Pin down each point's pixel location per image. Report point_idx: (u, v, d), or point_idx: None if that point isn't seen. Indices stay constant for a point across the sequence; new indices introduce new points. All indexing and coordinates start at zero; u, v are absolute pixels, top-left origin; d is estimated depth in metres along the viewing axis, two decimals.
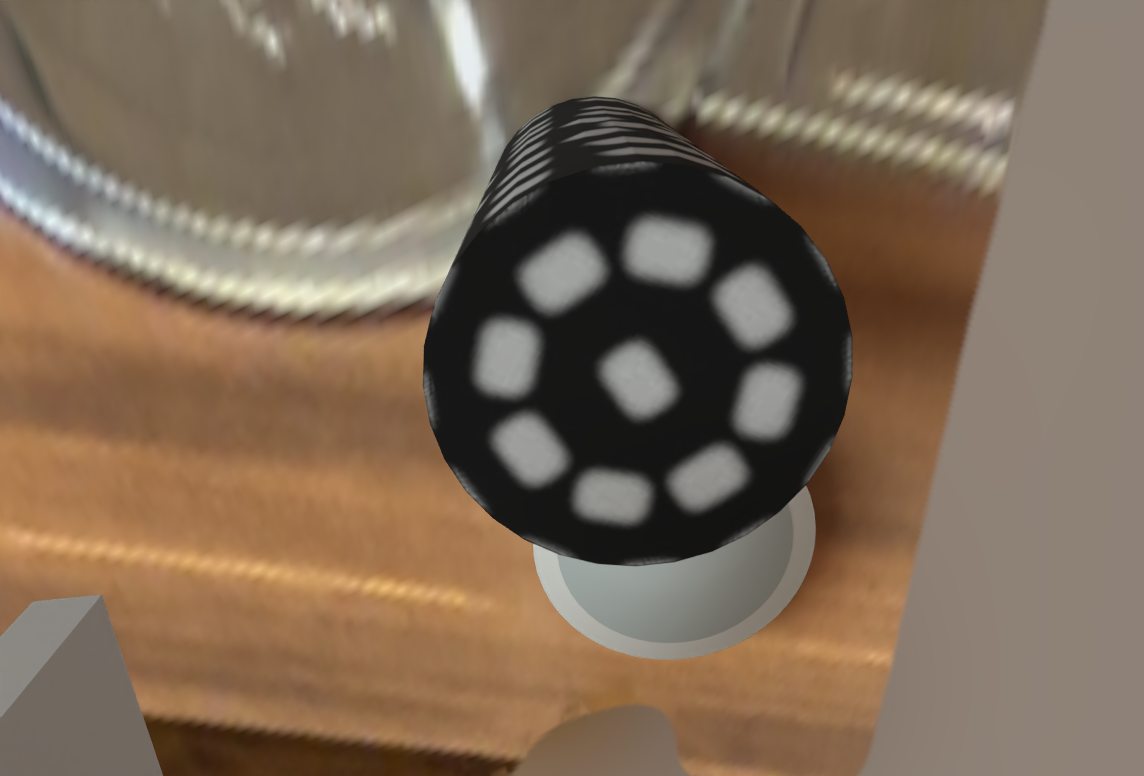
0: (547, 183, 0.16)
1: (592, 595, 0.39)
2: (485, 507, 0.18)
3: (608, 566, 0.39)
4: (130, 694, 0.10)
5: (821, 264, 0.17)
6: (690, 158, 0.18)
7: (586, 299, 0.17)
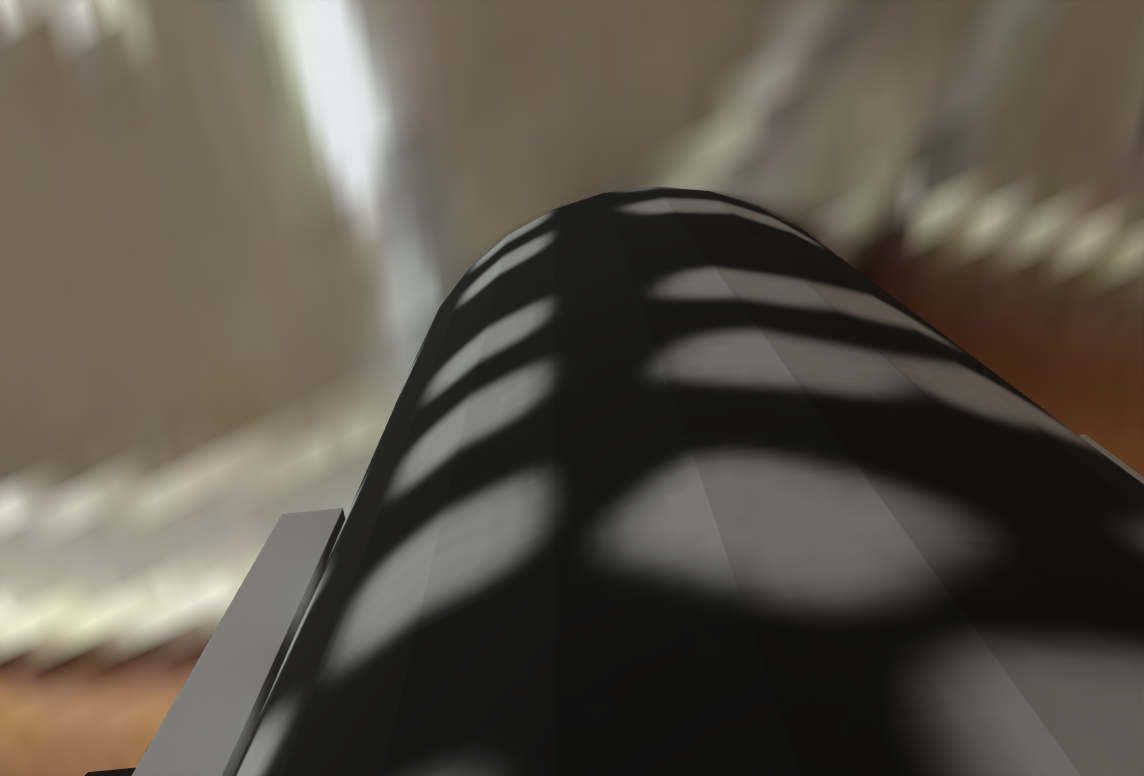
0: None
1: None
2: None
3: None
4: None
5: None
6: None
7: None
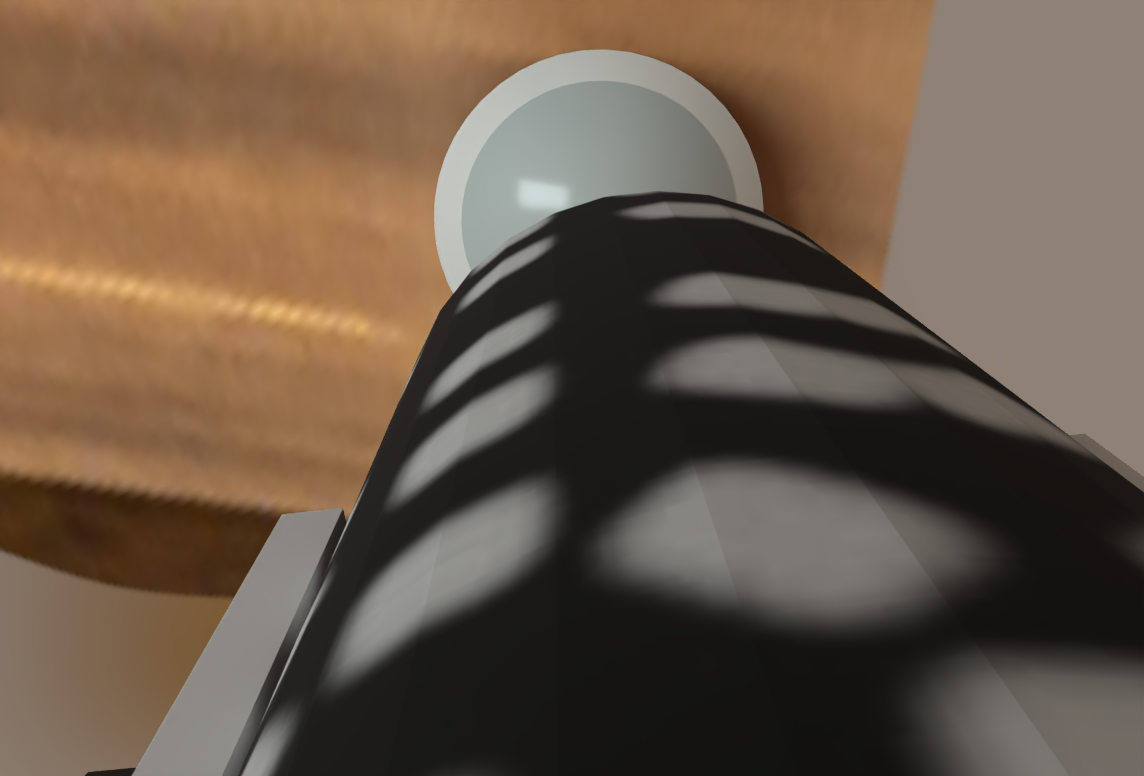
0: None
1: None
2: None
3: None
4: None
5: None
6: None
7: None
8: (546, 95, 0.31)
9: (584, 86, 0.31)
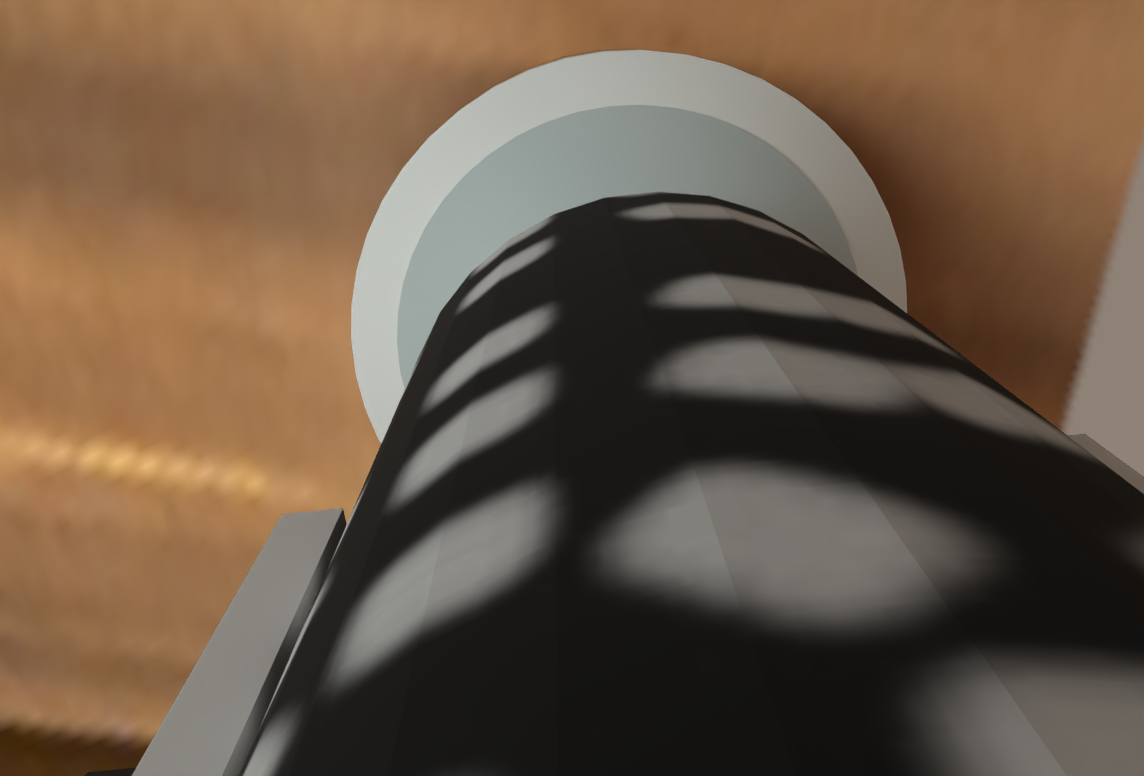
0: None
1: None
2: None
3: None
4: None
5: None
6: None
7: None
8: (541, 130, 0.18)
9: (606, 115, 0.18)
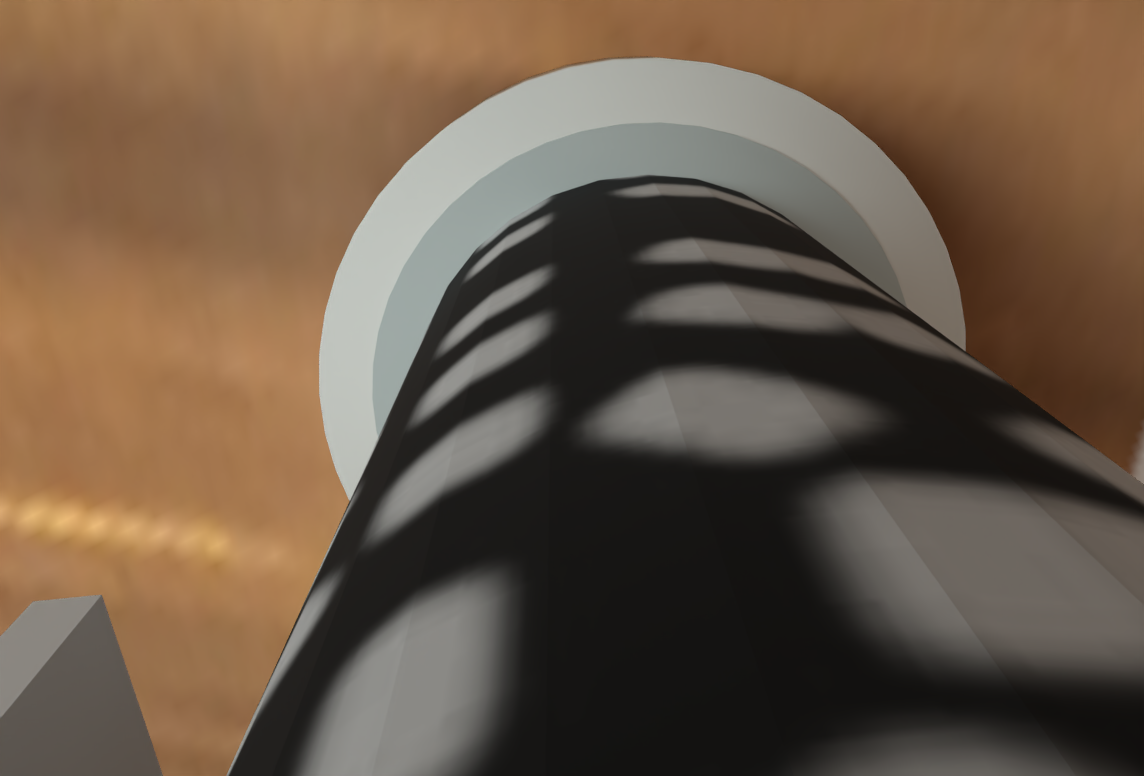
0: None
1: None
2: None
3: None
4: (130, 695, 0.10)
5: None
6: None
7: None
8: (540, 152, 0.15)
9: (617, 134, 0.15)
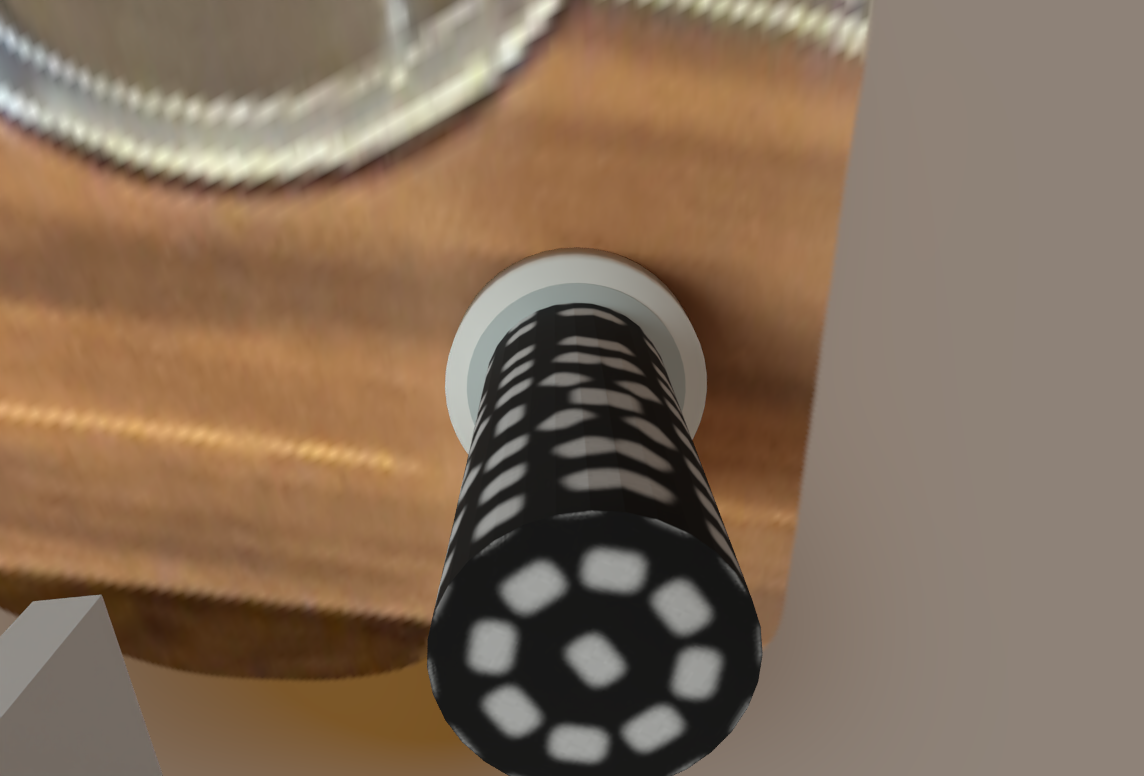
0: (520, 526, 0.21)
1: None
2: (477, 753, 0.23)
3: None
4: (130, 695, 0.10)
5: (732, 577, 0.22)
6: (632, 484, 0.23)
7: (552, 604, 0.22)
8: (532, 294, 0.40)
9: (561, 287, 0.40)
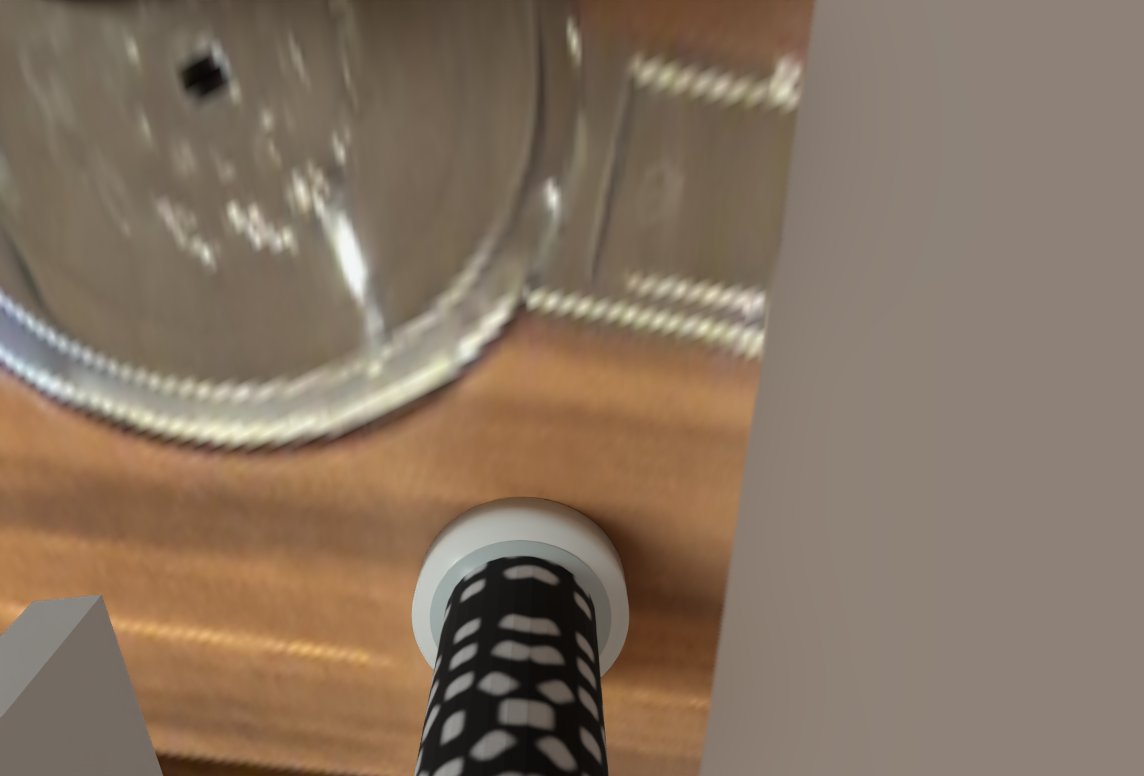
0: None
1: None
2: None
3: None
4: (130, 695, 0.10)
5: None
6: None
7: None
8: (484, 548, 0.48)
9: (508, 543, 0.48)
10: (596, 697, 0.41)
